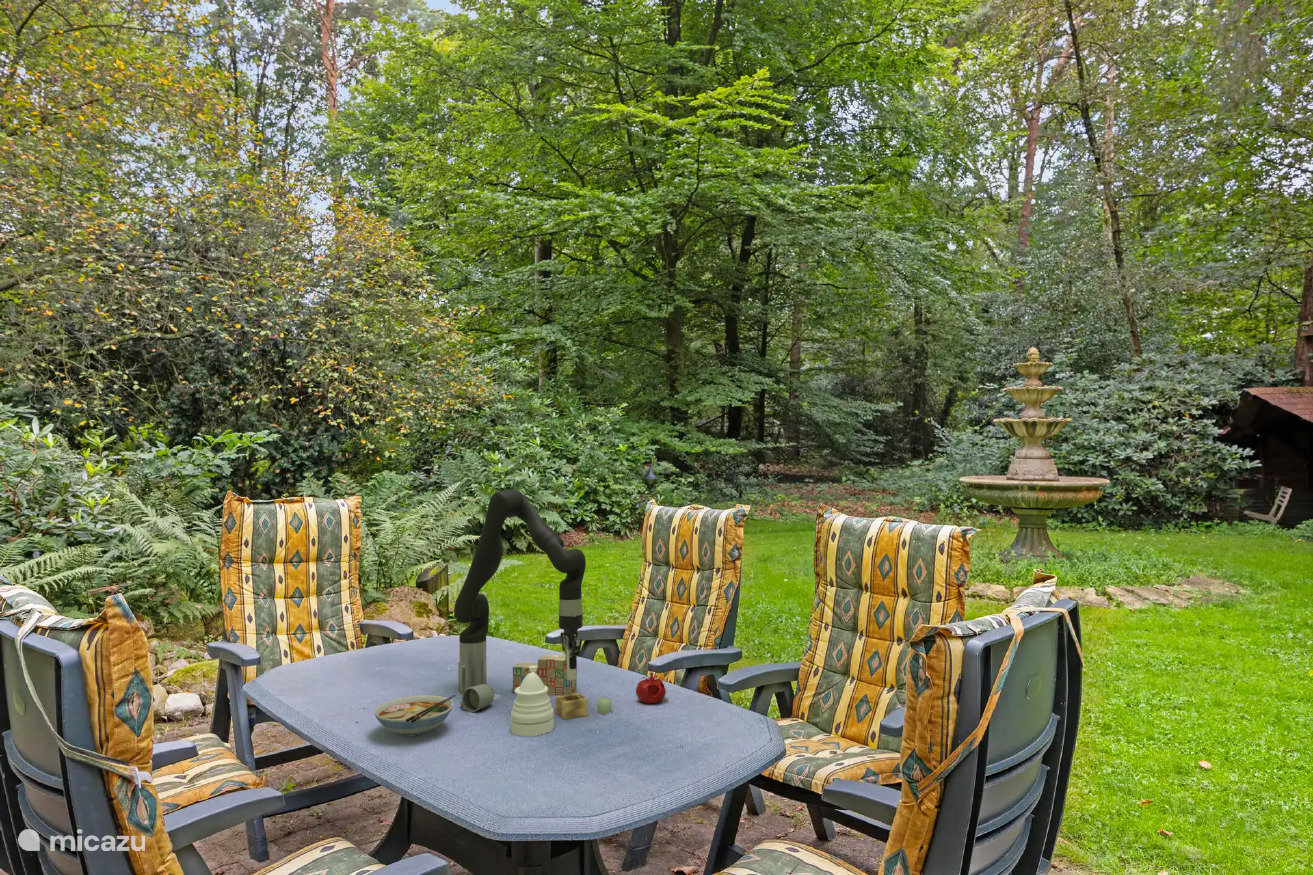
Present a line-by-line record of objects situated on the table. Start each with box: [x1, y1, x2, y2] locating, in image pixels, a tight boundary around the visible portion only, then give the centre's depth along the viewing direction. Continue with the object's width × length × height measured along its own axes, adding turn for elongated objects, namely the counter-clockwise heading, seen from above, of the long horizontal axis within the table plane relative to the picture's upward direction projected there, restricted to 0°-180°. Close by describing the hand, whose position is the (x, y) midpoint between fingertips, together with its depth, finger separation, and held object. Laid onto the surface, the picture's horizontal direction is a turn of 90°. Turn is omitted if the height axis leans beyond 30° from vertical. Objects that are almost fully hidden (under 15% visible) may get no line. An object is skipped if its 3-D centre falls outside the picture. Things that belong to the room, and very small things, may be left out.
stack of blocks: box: [512, 654, 578, 696], centre depth 268 cm, size 21×6×12 cm, turn 81°
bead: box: [596, 696, 612, 715], centre depth 247 cm, size 4×4×4 cm
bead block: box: [554, 692, 589, 720], centre depth 245 cm, size 8×8×5 cm
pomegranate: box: [635, 672, 667, 705], centre depth 257 cm, size 10×10×9 cm
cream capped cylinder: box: [565, 641, 576, 680], centre depth 245 cm, size 3×3×12 cm
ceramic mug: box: [459, 684, 495, 713], centre depth 252 cm, size 11×8×8 cm
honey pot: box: [509, 666, 555, 737], centre depth 232 cm, size 13×13×18 cm
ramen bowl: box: [373, 694, 457, 736], centre depth 231 cm, size 25×23×8 cm
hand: (571, 667), depth 245 cm, fingers closed on cream capped cylinder, 3 cm apart
